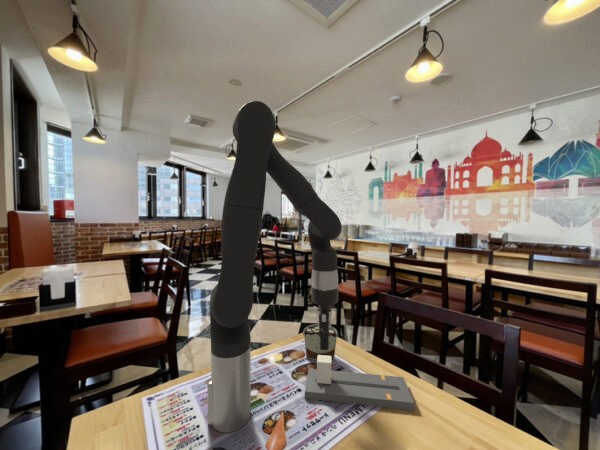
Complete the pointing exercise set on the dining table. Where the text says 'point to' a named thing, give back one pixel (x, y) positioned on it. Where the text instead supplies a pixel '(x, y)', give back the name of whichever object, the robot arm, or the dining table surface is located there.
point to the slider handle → (324, 369)
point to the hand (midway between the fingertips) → (325, 340)
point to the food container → (318, 342)
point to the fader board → (360, 389)
